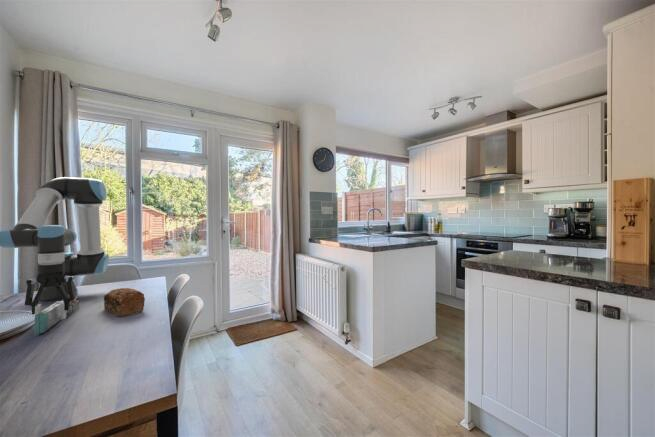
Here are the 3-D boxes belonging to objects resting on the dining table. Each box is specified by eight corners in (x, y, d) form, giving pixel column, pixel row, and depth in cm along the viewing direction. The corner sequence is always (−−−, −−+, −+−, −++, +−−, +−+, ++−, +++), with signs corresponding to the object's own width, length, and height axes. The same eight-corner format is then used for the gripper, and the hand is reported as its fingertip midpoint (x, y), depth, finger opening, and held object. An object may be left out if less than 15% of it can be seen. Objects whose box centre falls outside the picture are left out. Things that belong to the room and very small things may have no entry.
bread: (145, 311, 122) (145, 290, 122) (116, 318, 114) (117, 295, 113) (129, 304, 133) (129, 284, 133) (102, 310, 124) (102, 288, 124)
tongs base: (66, 309, 123) (66, 294, 123) (79, 308, 126) (79, 292, 126) (31, 336, 96) (31, 316, 96) (48, 334, 98) (48, 314, 98)
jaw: (64, 312, 117) (64, 298, 117) (71, 312, 118) (71, 297, 118) (37, 333, 97) (37, 315, 97) (46, 332, 98) (46, 314, 98)
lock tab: (69, 300, 124) (69, 294, 124) (76, 299, 125) (76, 293, 125) (66, 301, 121) (66, 295, 121) (74, 301, 122) (74, 295, 122)
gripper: (10, 266, 99) (10, 328, 99) (80, 262, 108) (80, 319, 108) (21, 263, 106) (21, 321, 106) (86, 260, 115) (86, 313, 115)
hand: (51, 319), depth 107 cm, fingers open, 7 cm apart
